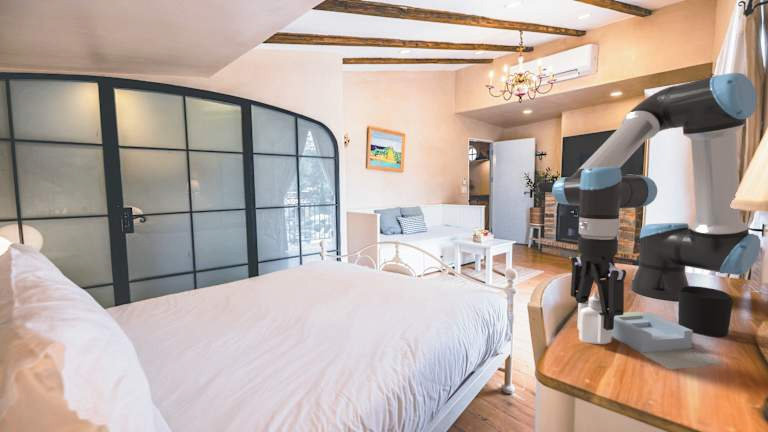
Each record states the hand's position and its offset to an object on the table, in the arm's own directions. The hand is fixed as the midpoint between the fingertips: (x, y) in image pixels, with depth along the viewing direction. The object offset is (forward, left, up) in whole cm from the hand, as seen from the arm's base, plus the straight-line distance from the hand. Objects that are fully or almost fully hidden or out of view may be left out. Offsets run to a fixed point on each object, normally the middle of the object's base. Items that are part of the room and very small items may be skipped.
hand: (593, 335), depth 76 cm
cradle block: (-12, +2, -1) cm, 12 cm away
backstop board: (-12, +3, -2) cm, 13 cm away
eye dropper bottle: (0, 0, -2) cm, 2 cm away
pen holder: (-30, -1, -2) cm, 30 cm away
